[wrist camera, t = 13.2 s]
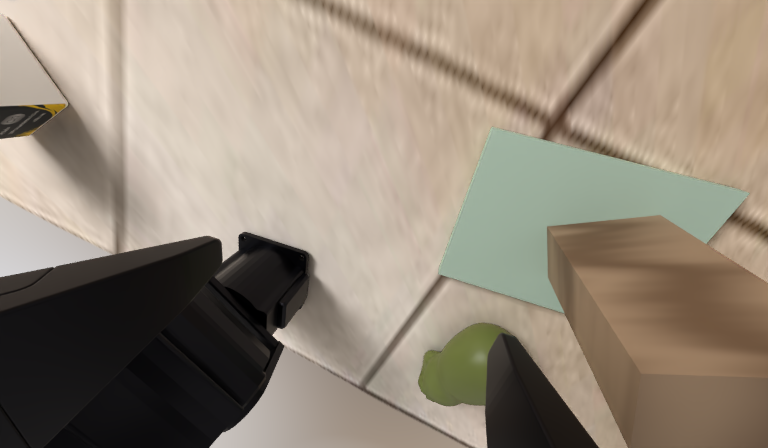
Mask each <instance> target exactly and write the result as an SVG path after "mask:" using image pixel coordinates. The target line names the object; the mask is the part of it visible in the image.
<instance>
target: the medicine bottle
mask: <svg viewBox="0 0 768 448" xmlns="http://www.w3.org/2000/svg"><path fill="white" fill-rule="evenodd" d="M67 106H68V102H67V100H66V99H65V98H64V96H63V95H62V93H61V92H60V91H59V89H58V88H57V87H56V85H55V84H54V82H53V81H52V80H51V78H50V77H49V75H48V74H47V73H46V71H45V70H44V68H43V67H42V66H41V64H40V63H39V61H38V60H37V59H36V57H35V56H34V54H33V53H32V52H31V50H30V49H29V48H28V46H27V45H26V43H25V42H24V41H23V39H22V38H21V36H20V35H19V34H18V32H17V31H16V29H15V28H14V27H13V25H12V24H11V22H10V21H9V20H8V18H7V17H6V16H5V15H3V14H1V13H0V139H3V138H12V137H21V136H29V135H31V134H33V133H34V132H35V131H36V130H38V129H39V128H40V127H42V126H43V125H44V124H45V123H47V122H48V121H49V120H51V119H52V118H53V117H54V116H56V115H57V114H58V113H60V112H61V111H62V110H63V109H65V108H66V107H67Z"/></svg>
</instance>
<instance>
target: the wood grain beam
mask: <svg viewBox="0 0 768 448" xmlns="http://www.w3.org/2000/svg"><path fill="white" fill-rule="evenodd" d="M547 257H548V279H549V281H550V283H551V285H552V287H553V290H554V292H555V294H556V296H557V298H558V300H559V302H560V304H561V307H562V309H563V311H564V313H565V315H566V317H567V319H568V321H569V323H570V326H571V328H572V330H573V332H574V334H575V336H576V338H577V340H578V342H579V345H580V347H581V349H582V351H583V353H584V355H585V357H586V359H587V362H588V364H589V366H590V368H591V370H592V372H593V374H594V376H595V378H596V381H597V383H598V385H599V387H600V389H601V391H602V393H603V395H604V397H605V400H606V402H607V404H608V406H609V408H610V410H611V412H612V414H613V417H614V419H615V421H616V423H617V425H618V427H619V429H620V431H621V433H622V436H623V438H624V440H625V442H626V444H627V446H628V448H768V283H767V282H765V281H764V280H762V279H761V278H759V277H757V276H756V275H754V274H753V273H751V272H750V271H748V270H746V269H745V268H743V267H742V266H740V265H739V264H737V263H735V262H734V261H732V260H731V259H729V258H727V257H726V256H724V255H723V254H721V253H720V252H718V251H716V250H715V249H713V248H712V247H710V246H708V245H707V244H705V243H704V242H702V241H701V240H699V239H697V238H696V237H694V236H693V235H691V234H690V233H688V232H686V231H685V230H683V229H682V228H680V227H678V226H677V225H675V224H674V223H672V222H671V221H669V220H667V219H666V218H664V217H663V216H661V215H656V216H646V217H636V218H626V219H616V220H606V221H596V222H586V223H576V224H566V225H556V226H547Z"/></svg>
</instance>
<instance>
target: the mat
mask: <svg viewBox="0 0 768 448" xmlns="http://www.w3.org/2000/svg"><path fill="white" fill-rule="evenodd" d="M749 194H750V193H748V192H745V191H742V190H740V189H737V188H733V187H729V186H725V185H721V184H717V183H713V182H709V181H705V180H701V179H697V178H693V177H689V176H685V175H681V174H677V173H673V172H669V171H665V170H661V169H657V168H654V167H650V166H646V165H642V164H638V163H634V162H630V161H626V160H622V159H618V158H614V157H610V156H606V155H602V154H598V153H594V152H590V151H586V150H582V149H578V148H574V147H570V146H566V145H562V144H559V143H555V142H551V141H547V140H543V139H539V138H535V137H531V136H527V135H523V134H519V133H515V132H511V131H507V130H503V129H499V128H495V127H491V130H490V132H489V135H488V138H487V140H486V143H485V146H484V148H483V151H482V154H481V156H480V159H479V162H478V165H477V167H476V170H475V173H474V175H473V178H472V181H471V183H470V186H469V189H468V191H467V194H466V197H465V199H464V202H463V205H462V208H461V210H460V213H459V216H458V218H457V221H456V224H455V226H454V229H453V232H452V234H451V237H450V240H449V242H448V245H447V248H446V250H445V253H444V256H443V259H442V261H441V264H440V267H439V272H438V274H440V275H443V276H447V277H450V278H453V279H456V280H459V281H463V282H466V283H469V284H472V285H475V286H479V287H482V288H485V289H488V290H491V291H495V292H498V293H501V294H504V295H507V296H510V297H514V298H517V299H520V300H523V301H526V302H530V303H533V304H536V305H539V306H542V307H546V308H549V309H552V310H555V311H558V312H562V313H564V311H563V309H562V307H561V304H560V302H559V300H558V298H557V296H556V294H555V292H554V290H553V287H552V285H551V283H550V281H549V279H548V257H547V226H556V225H566V224H576V223H586V222H596V221H606V220H616V219H626V218H636V217H646V216H656V215H661V216H663V217H664V218H666V219H667V220H669V221H671V222H672V223H674V224H675V225H677V226H678V227H680V228H682V229H683V230H685V231H686V232H688V233H690V234H691V235H693V236H694V237H696V238H697V239H699V240H701V241H702V242H704V243H705V244H707V242H708V241H709V240H710V239H711V238H712V237H713V235H714V234H715V233H716V232H717V231H718V230H719V228H720V227H721V226H722V225H723V224H724V223H725V222H726V220H727V219H728V218H729V217H730V216H731V215H732V213H733V212H734V211H735V210H736V209H737V208H738V207H739V205H740V204H741V203H742V202H743V201H744V200H745V198H746V197H747V196H748V195H749Z"/></svg>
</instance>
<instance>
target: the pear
mask: <svg viewBox="0 0 768 448" xmlns="http://www.w3.org/2000/svg"><path fill="white" fill-rule="evenodd" d="M500 333H506V334H509V335H511V334H510V333H509V332H508V331H506V330H505V329H503V328H501V327H499V326H497V325H494V324H489V323H478V324H474V325H471V326H469V327H467V328H465V329H464V330H463V331H461V332H460V333H458V334H457V335H456V336H455V337H453V338H452V339H451V340H450V341H449V342H448V343H447V345H446V346H445V347H444V349H443V350H442V352H438V351H432V350H430V351H427V352H426V353H425V355H424V360H423V366H422V370H421V374H420V376H419V380H418V384H419V387H420V389H421V391H422V393H424V394H425V395H426V398H427V399H429V400H431V401H433V402H436V403H438V404H441V405H444V406H455V405H458V404H461V403H465V404H469V405H479V406H482V405H485V401H486V378H487V357H488V353H489V350H490V348H491V347H492V345H493V343H494V341H495V340H496V338H497V336H498V335H499V334H500Z"/></svg>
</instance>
